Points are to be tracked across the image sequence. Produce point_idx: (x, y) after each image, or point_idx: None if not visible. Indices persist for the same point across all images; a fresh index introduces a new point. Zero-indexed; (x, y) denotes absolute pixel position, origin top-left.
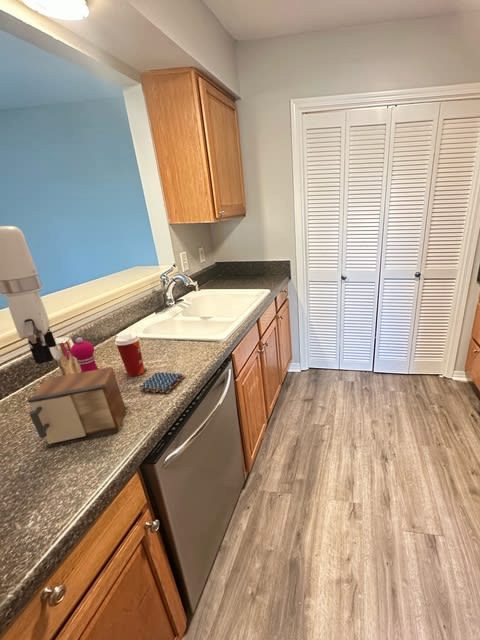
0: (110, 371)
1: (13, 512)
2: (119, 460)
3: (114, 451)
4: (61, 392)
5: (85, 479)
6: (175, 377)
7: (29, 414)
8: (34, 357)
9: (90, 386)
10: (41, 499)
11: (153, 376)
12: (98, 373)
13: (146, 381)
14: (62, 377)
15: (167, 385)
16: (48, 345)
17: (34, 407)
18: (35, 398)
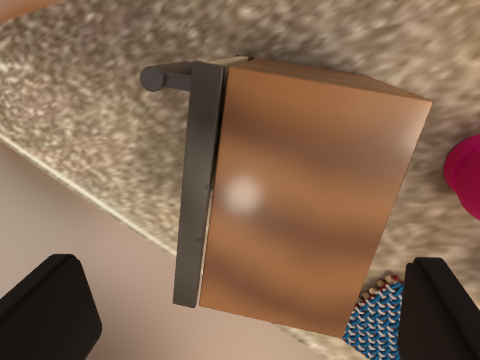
0: (302, 329)
1: (36, 24)
2: (118, 206)
3: (150, 199)
4: (201, 186)
5: (86, 149)
6: (378, 357)
7: (144, 68)
8: (14, 293)
9: (197, 274)
10: (56, 73)
11: None
12: (312, 296)
13: None
14: (378, 173)
15: (345, 335)
16: (407, 326)
17: None
18: (197, 92)
